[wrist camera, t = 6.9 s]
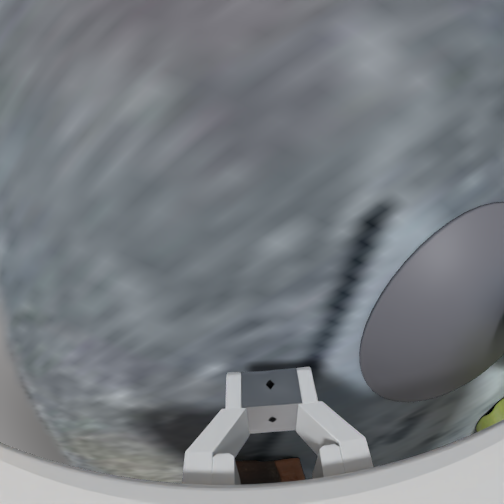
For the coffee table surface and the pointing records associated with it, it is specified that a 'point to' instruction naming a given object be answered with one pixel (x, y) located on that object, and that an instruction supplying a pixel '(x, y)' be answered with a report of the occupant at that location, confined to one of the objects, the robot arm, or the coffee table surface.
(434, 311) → the dark grey ellipsoid
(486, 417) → the plant pot
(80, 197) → the coffee table surface
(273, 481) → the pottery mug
